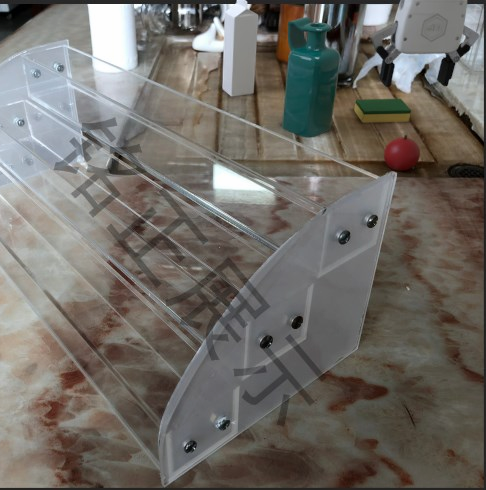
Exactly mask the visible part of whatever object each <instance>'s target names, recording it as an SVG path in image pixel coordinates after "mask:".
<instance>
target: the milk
mask: <svg viewBox="0 0 486 490" xmlns="http://www.w3.org/2000/svg"><path fill="white" fill-rule="evenodd" d="M223 22H224V24H223V57H222V58H223V59H222V88H221V89H222V90H223V91H224V92H225V93H227V95H229V96H230V97H238V96H245V95H253V94H254V93H255V79H256V61H257V46H258V28H259V14H257V13H256V12H254V11H252V10H250V9H249V8H248V1H247V0H236V2H235V4H233V5H232V6H231V7H230V8H228V9H227V10H225V11H224V21H223Z"/></svg>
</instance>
